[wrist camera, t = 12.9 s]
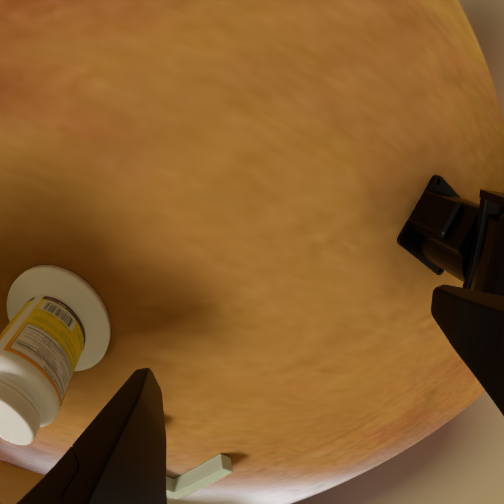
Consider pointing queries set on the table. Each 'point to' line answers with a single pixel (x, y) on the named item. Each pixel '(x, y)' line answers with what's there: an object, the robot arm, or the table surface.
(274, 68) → the table surface
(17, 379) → the supplement bottle
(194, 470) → the pale green u-shaped bracket
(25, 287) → the coaster
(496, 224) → the robot arm
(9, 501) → the bread
